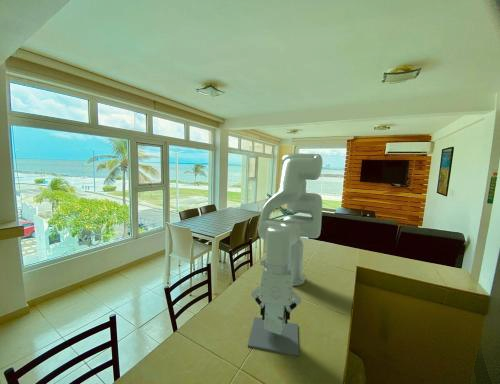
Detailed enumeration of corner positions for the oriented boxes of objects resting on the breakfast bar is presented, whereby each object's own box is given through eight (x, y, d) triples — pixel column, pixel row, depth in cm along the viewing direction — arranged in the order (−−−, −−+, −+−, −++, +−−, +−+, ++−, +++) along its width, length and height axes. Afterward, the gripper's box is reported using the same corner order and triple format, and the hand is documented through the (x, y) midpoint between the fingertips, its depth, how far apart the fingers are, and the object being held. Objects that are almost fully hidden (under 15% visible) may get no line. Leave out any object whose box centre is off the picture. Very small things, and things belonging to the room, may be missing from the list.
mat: (254, 318, 75) (254, 316, 75) (297, 325, 72) (297, 323, 72) (247, 346, 63) (247, 344, 63) (298, 356, 61) (298, 354, 60)
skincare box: (263, 329, 66) (264, 294, 65) (267, 320, 71) (268, 286, 69) (282, 335, 64) (284, 299, 63) (285, 325, 68) (287, 291, 67)
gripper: (247, 268, 63) (246, 322, 65) (307, 275, 59) (303, 332, 62) (251, 257, 70) (250, 307, 72) (305, 263, 67) (302, 315, 69)
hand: (274, 318), depth 67 cm, fingers closed on skincare box, 6 cm apart
